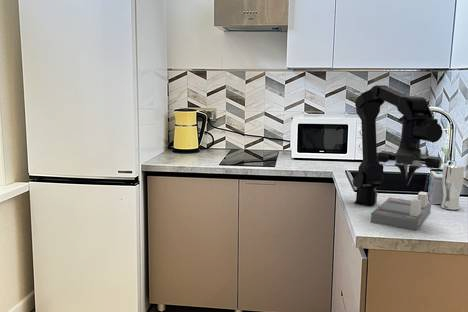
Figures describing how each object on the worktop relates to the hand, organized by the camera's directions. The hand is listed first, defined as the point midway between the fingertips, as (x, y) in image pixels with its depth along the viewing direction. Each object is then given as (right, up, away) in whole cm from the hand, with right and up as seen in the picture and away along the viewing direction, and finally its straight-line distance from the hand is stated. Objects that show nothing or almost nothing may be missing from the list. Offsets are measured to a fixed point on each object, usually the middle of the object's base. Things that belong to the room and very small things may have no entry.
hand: (406, 185), depth 147 cm
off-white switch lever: (+2, -9, -2) cm, 9 cm away
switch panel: (+1, -11, +7) cm, 13 cm away
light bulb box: (+22, -8, +27) cm, 36 cm away
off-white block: (+8, -7, +8) cm, 14 cm away
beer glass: (+22, -9, +18) cm, 30 cm away
